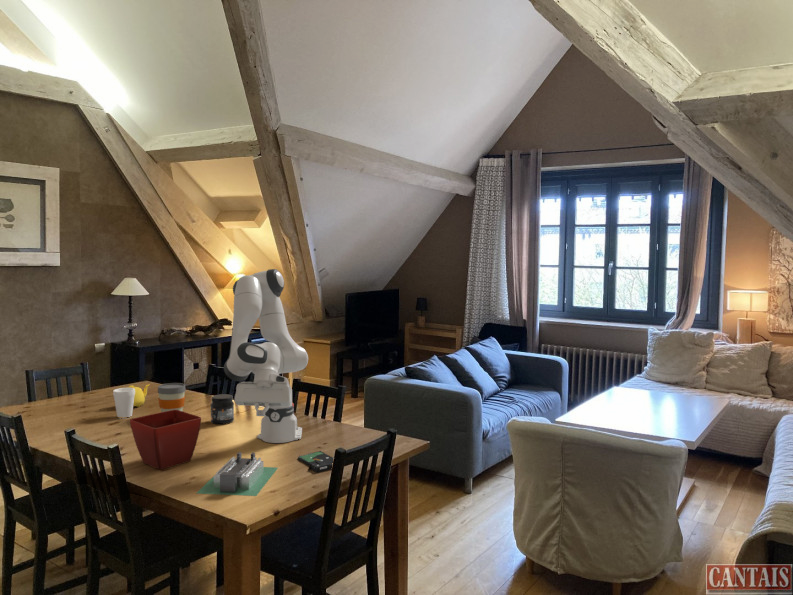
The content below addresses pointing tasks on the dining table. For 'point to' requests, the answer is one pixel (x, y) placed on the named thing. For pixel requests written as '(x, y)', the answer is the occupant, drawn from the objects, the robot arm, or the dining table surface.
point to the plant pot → (166, 437)
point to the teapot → (139, 395)
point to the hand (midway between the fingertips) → (260, 415)
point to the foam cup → (124, 401)
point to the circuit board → (253, 491)
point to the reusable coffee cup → (171, 396)
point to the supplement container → (222, 409)
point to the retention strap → (240, 465)
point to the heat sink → (240, 481)
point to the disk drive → (317, 461)
